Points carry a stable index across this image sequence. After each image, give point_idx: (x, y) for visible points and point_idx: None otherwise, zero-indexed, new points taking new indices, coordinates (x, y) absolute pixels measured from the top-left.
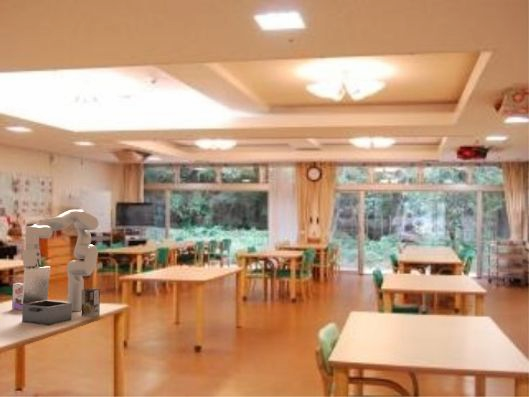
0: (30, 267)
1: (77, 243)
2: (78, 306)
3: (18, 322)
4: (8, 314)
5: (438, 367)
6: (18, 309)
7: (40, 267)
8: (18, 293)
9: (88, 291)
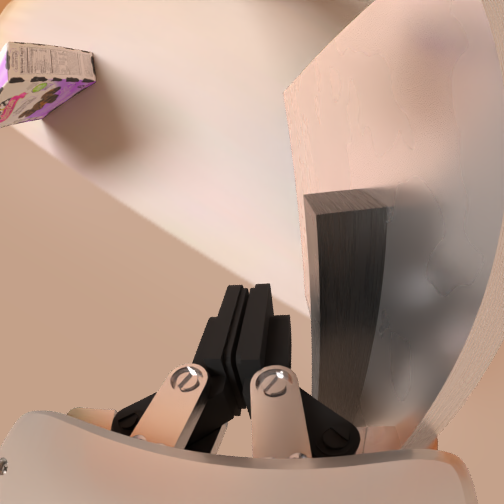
0: (159, 434)
1: None
2: None
3: (298, 256)
4: (108, 177)
5: None
6: (58, 105)
7: (442, 405)
8: (9, 113)
9: None
